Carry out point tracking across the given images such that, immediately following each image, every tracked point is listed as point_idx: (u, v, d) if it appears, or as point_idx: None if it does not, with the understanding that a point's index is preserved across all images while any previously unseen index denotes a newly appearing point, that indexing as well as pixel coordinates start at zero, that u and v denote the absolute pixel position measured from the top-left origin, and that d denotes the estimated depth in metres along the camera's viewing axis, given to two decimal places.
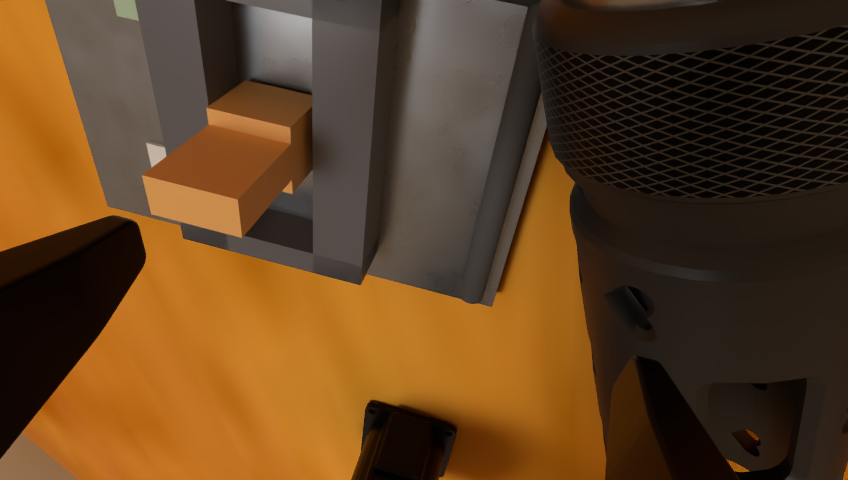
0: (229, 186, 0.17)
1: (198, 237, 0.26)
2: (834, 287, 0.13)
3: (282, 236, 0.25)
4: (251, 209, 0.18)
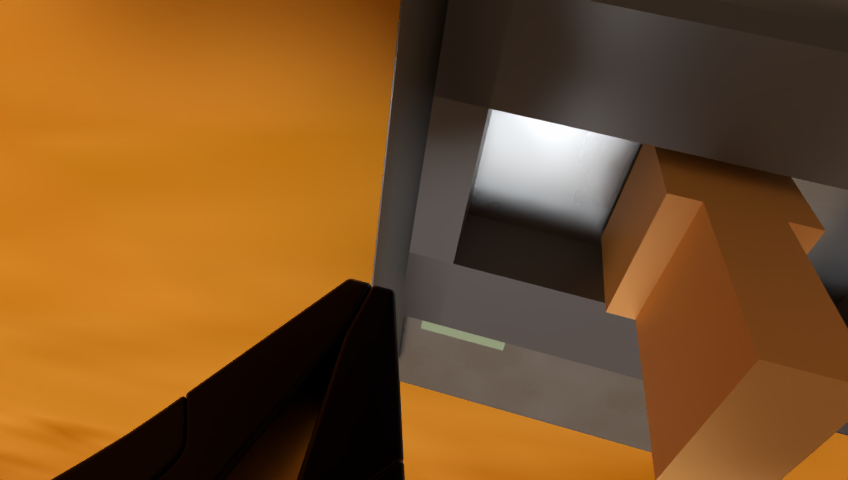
0: (727, 356, 0.08)
1: None
2: None
3: None
4: (808, 336, 0.08)
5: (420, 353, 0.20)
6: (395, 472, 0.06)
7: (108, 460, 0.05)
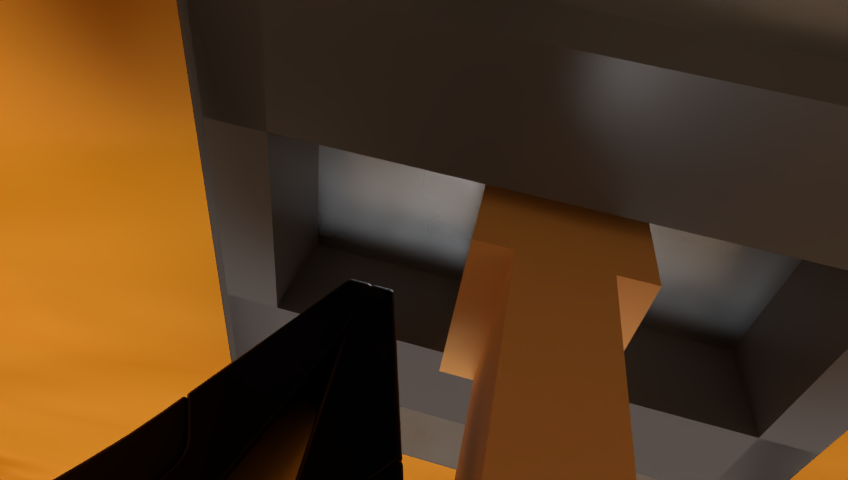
0: (476, 473, 0.06)
1: None
2: None
3: (823, 333, 0.10)
4: (569, 452, 0.06)
5: None
6: (394, 472, 0.06)
7: (109, 461, 0.05)
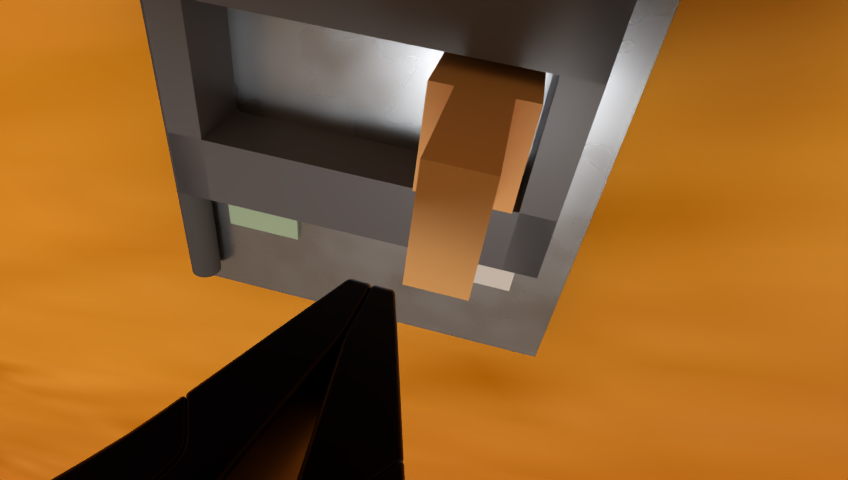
0: None
1: (534, 256, 0.17)
2: None
3: (542, 128, 0.15)
4: (470, 151, 0.11)
5: (239, 250, 0.23)
6: (395, 472, 0.06)
7: (108, 460, 0.05)
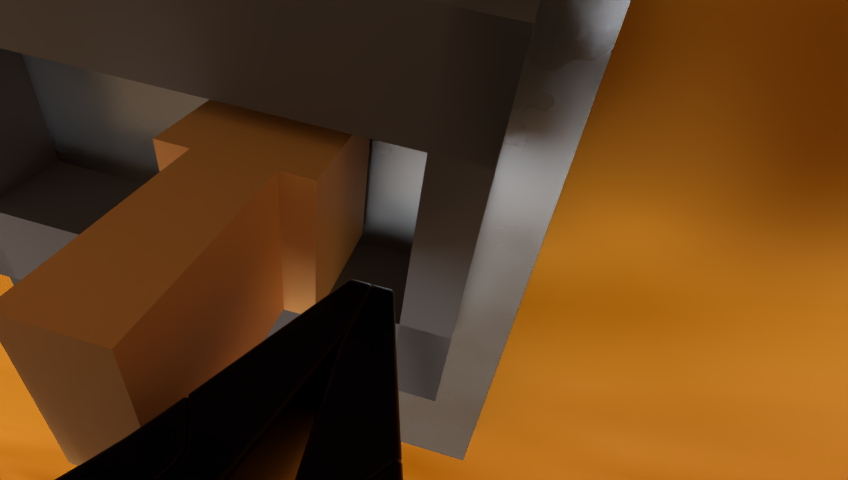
0: None
1: (427, 376, 0.13)
2: None
3: None
4: (101, 287, 0.06)
5: None
6: (393, 472, 0.06)
7: (110, 461, 0.05)
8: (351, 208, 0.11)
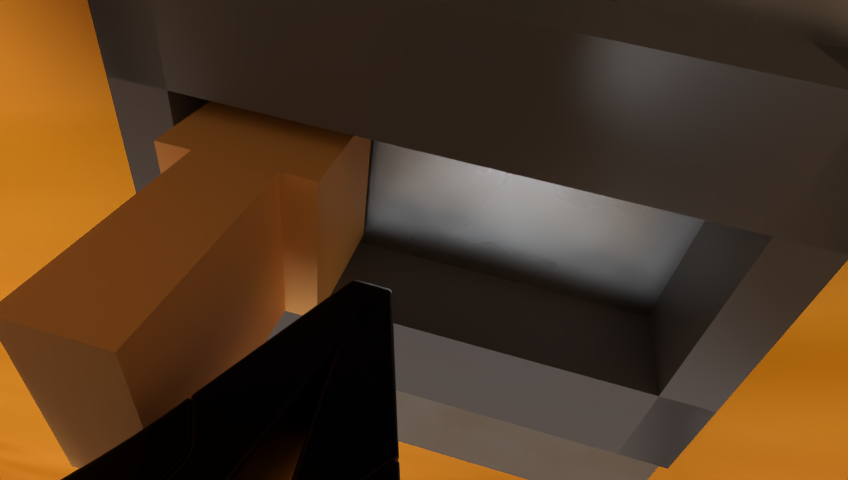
0: None
1: (669, 445, 0.12)
2: None
3: (711, 290, 0.10)
4: (104, 290, 0.06)
5: None
6: (390, 471, 0.06)
7: (113, 462, 0.05)
8: (352, 209, 0.11)
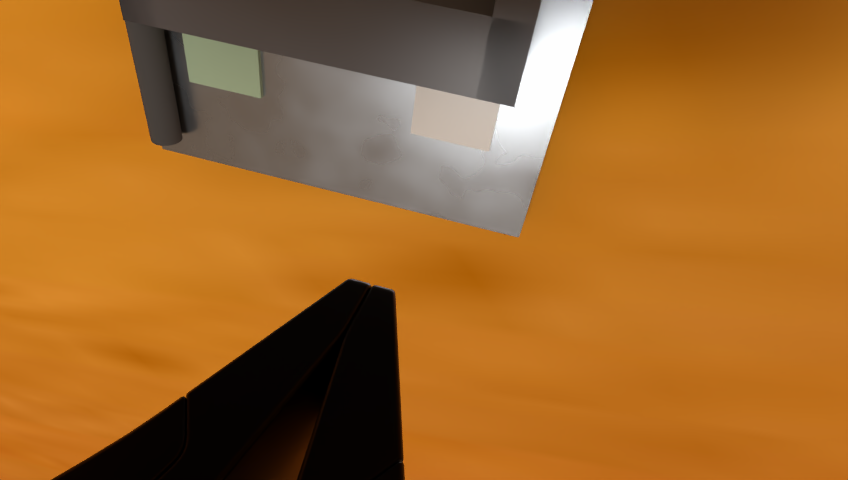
0: None
1: (510, 77, 0.15)
2: None
3: None
4: None
5: (201, 117, 0.22)
6: (395, 472, 0.06)
7: (108, 460, 0.05)
8: None
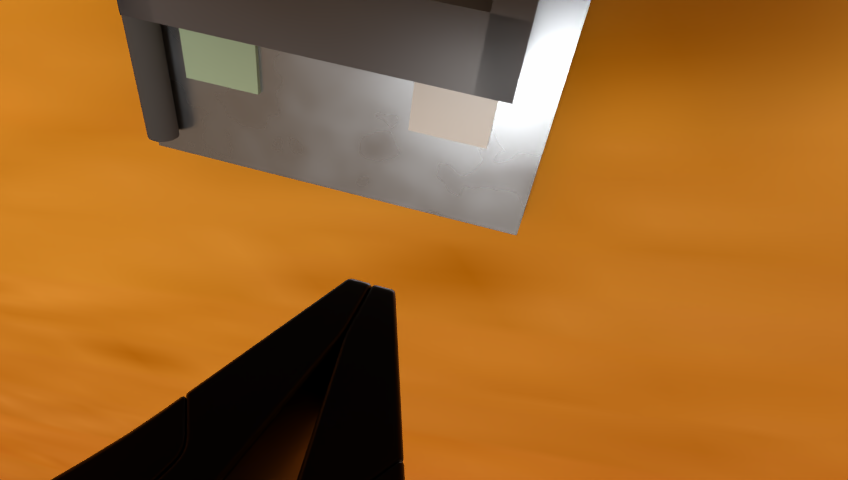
0: None
1: (508, 74, 0.15)
2: None
3: None
4: None
5: (198, 113, 0.22)
6: (395, 472, 0.06)
7: (108, 460, 0.05)
8: None
